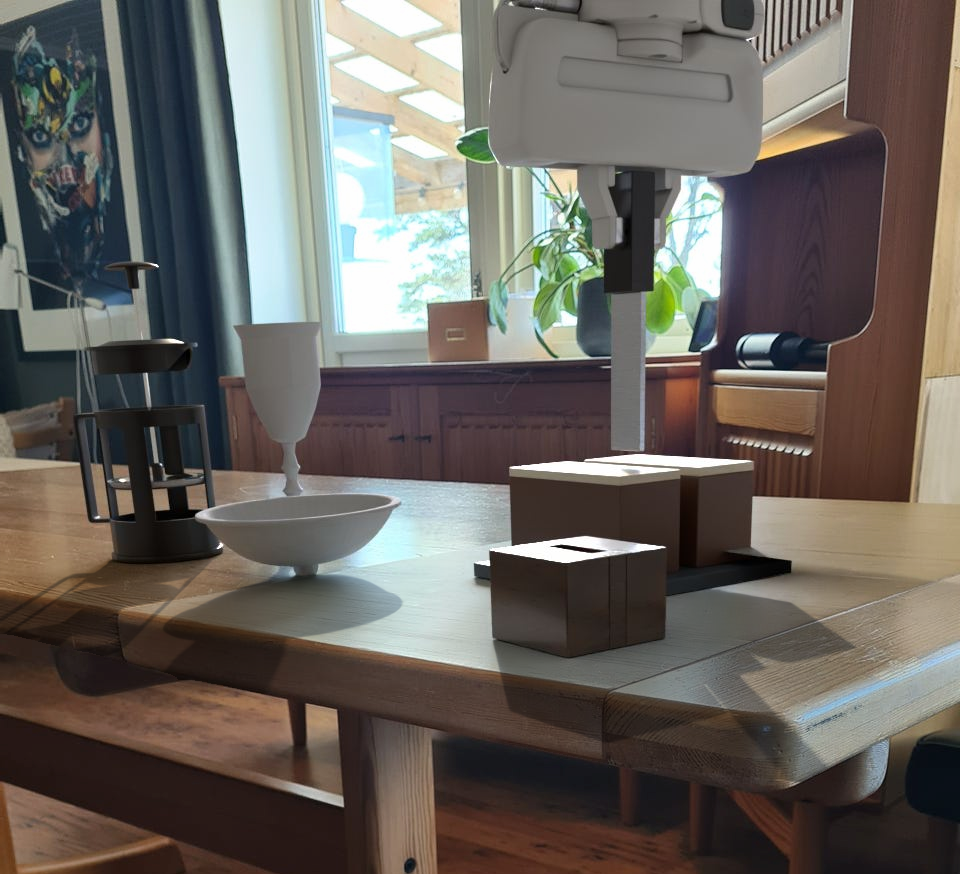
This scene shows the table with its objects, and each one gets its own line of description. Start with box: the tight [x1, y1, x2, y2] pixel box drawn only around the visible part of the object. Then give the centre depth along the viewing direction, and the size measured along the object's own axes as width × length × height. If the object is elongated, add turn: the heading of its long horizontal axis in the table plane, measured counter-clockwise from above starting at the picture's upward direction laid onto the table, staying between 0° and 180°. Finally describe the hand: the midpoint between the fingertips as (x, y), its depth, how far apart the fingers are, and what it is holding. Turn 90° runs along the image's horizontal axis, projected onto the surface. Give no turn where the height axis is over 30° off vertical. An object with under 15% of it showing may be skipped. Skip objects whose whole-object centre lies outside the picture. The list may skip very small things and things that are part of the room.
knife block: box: [488, 536, 667, 658], centre depth 72 cm, size 7×7×5 cm
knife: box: [603, 171, 655, 452], centre depth 85 cm, size 2×3×17 cm, turn 35°
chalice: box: [232, 321, 323, 497], centre depth 108 cm, size 7×7×18 cm
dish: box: [195, 492, 402, 576], centre depth 97 cm, size 18×14×5 cm
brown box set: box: [473, 454, 793, 596], centre depth 90 cm, size 16×16×8 cm
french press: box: [72, 261, 224, 564], centre depth 106 cm, size 12×9×23 cm
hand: (629, 249), depth 84 cm, fingers closed on knife, 2 cm apart
